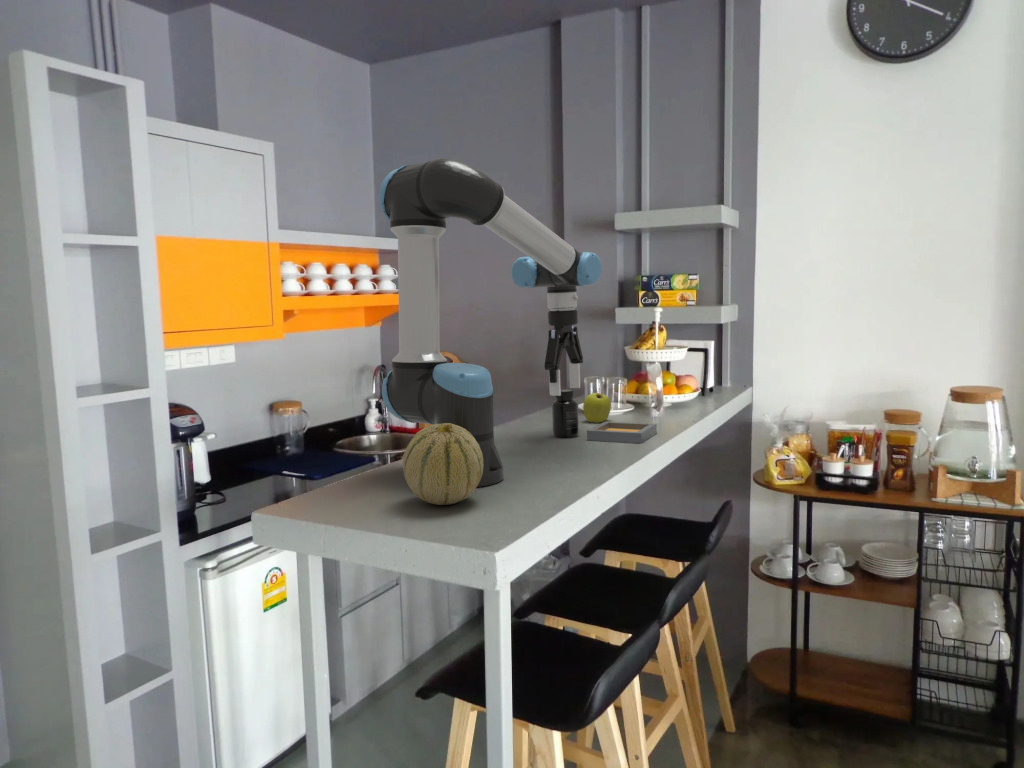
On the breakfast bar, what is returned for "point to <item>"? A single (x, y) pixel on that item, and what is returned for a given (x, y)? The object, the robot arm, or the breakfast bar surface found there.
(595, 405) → the apple
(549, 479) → the breakfast bar surface
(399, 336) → the robot arm
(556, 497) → the breakfast bar surface
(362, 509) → the breakfast bar surface
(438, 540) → the breakfast bar surface
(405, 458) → the cantaloupe
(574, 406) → the supplement bottle
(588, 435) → the grey square tray
